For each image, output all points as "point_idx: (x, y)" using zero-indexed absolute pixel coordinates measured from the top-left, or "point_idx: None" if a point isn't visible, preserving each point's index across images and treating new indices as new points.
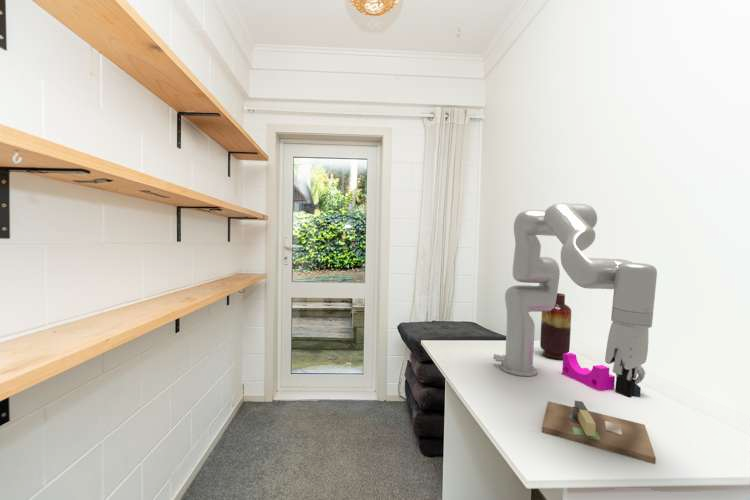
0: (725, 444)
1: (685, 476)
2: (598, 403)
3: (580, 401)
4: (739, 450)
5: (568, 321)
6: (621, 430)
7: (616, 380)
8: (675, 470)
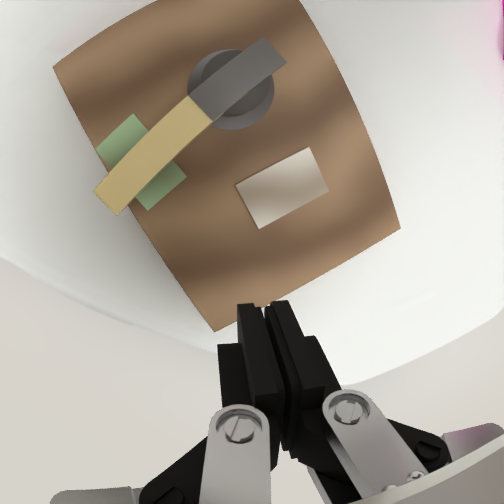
0: (450, 324)
1: None
2: (448, 71)
3: (279, 56)
4: (442, 342)
5: None
6: (294, 209)
7: (249, 362)
8: None
